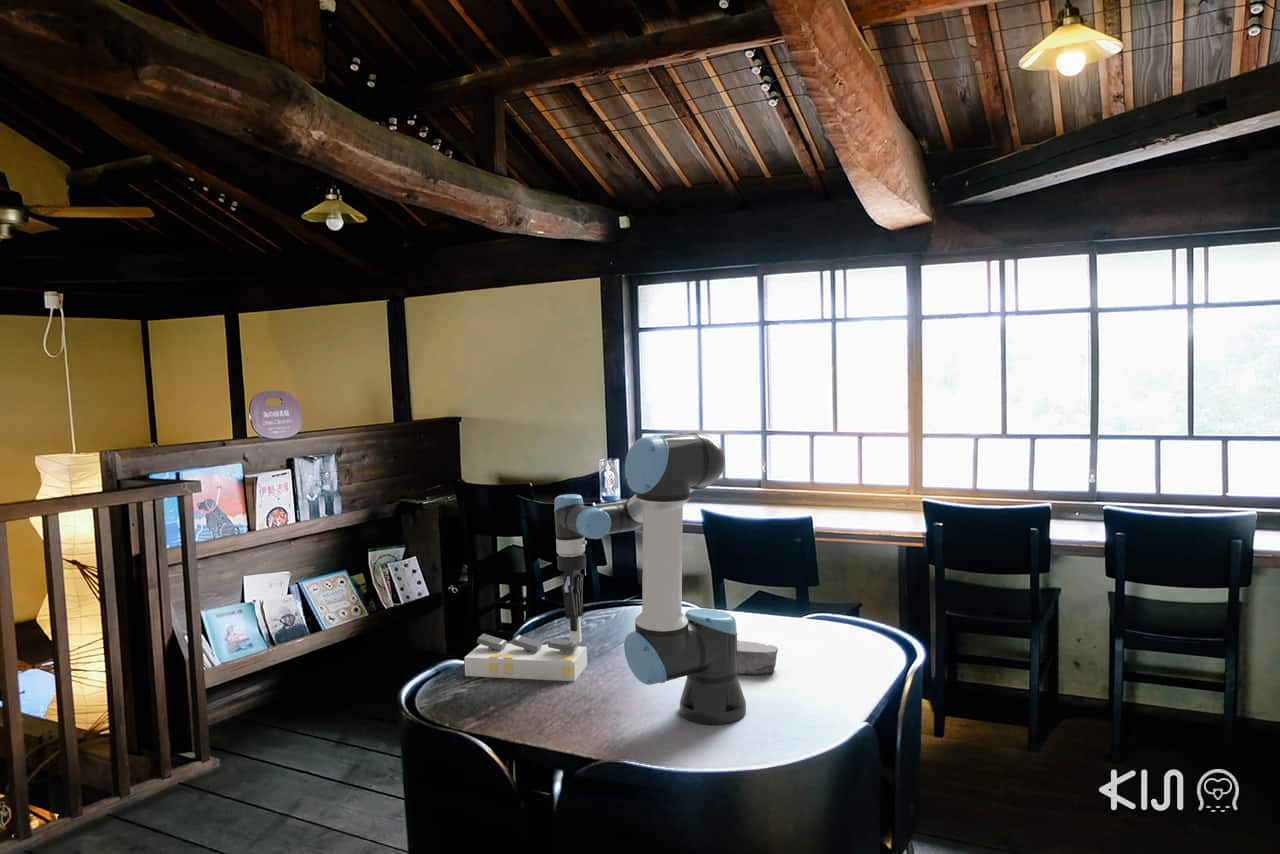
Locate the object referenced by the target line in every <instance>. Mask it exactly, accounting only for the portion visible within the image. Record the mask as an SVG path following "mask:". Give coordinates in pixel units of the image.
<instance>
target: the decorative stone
mask: <svg viewBox="0 0 1280 854" xmlns="http://www.w3.org/2000/svg"><path fill="white" fill-rule="evenodd" d="M778 649H779V648H778V647H777V646H775V645H772V644H768V645H765V644H764V643H759V642H757V641H756V642H752V641H745V640H739V639H737V675H738V676H753V677H755V676H766V675H765V674H768V675H772V674H773V673H774V672H775V668H776V663H777V653H778V652H779V651H778ZM771 673H772V674H771Z"/></svg>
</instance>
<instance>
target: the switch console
mask: <svg viewBox="0 0 1280 854" xmlns="http://www.w3.org/2000/svg"><path fill="white" fill-rule="evenodd" d="M587 649H588V648H587V646H579V645H578V647H577V649H576V650H575V651H574V652H569V651H564V650H559V649H554V648H549V647H548V644H542V646H541V648H540V649H539V650H538V651H537V652H535V651H531V650H528V649H525V648H522V647H519V646H515V645H512V643H507V644H506V646H505V647H504V648H503V649H502V650H501V651H500V650H497V649H494V648H491V647H488V646H484V645H481V644H478V645H477V646H476V647H475V648H473V650H471V651H470V652H469V653H468V654H467V655H465V656H464V658H463V659H464V676H465V677H479V678H480V677H481V678H499V679H500V678H502V679H519V680H520V679H522V680H542V681H558V682H559V681H562V682H563V681H565V682H566V681H567V682H576V681H577V679H578V678H579V677H580V675H581V674H582V672H584V670H585V669H586V667H587V666H588V651H587Z"/></svg>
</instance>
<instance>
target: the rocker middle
mask: <svg viewBox="0 0 1280 854" xmlns="http://www.w3.org/2000/svg"><path fill="white" fill-rule="evenodd" d="M511 644H512V645H515V646H519V647H522V648H525V649H528V650H531V651H535V652H537V651H538V650H539V649H540V648H541V646H542V645H543V642H542V641H540V640H537V639H533V638H530V637H526V636H523V635H522V634H521V635H520V634H517V635H516V636H515V637H514V638H513V640H512V643H511Z"/></svg>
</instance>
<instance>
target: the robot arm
mask: <svg viewBox="0 0 1280 854" xmlns="http://www.w3.org/2000/svg"><path fill="white" fill-rule="evenodd" d="M624 462H625V463H624V476H625V479H626V480H627V482H626V483H627V485H628V487H629V489H630V490H632V492H634V493H635V494H634V495H633V496H632V497H630V498H629V499H628V500H626V501H622V502H615V503H608V504H607V503H606V504H599V505H593V506H592V505H591V506H588V505H585V503H584V499H583V496H582V495H580V494H577V493H575V494H574V493H573V494H572V493H571V494H569V493H567V494H559V495H558V496H556V497H555V498H554V509H553V512H554V522H555V523H554V524H555V536H556V537H555V543H556V544H555V545H556V549H555V550H556V554H558V555H557V556H556V560H557V562H556V563H557V569H558V570H559V571H563V572H564V576H563V580H562V581H563V584H562V585H561V587H560V588H561V592H562V596H563V605H564V611H565V619H566V620H568V626H569V641H570V643H578V644H581V643H582V640H583V639H582V638H583V637H582V622H581V619H582V618H581V617H584V612H583V610H584V608H583V604H584V603H583V601H584V598H583V597H584V595H583V594H584V591H583V590H584V589H583V588H584V587H583V585H584V577H585V576H584V574H582V573H581V571H582V570H584V569H586V567H587V556H586V554H585V551H586V545H587V544H588V541H587V540H585V538H587V539H593V540H598V539H602V538H604V537H606V535H611V534H617V533H624V532H630V531H641V530H642V582H641V583H642V597H641V598H642V603H641V604H642V606H641V608H642V609H641V611H642V612H641V613H639V615H637V616H636V618H635V619H634V621H635V622H634V624H635V627H634V628H635V629H634V631H632V632H631V631H630V633H628V634H627V635H626V637H625V639H624V643H623V645H624V646H623V648H624V655H625V660H626V663H627V665H628V667H629V668H630V671H631V672H632V674H633V675H634V677H635V678H636V680H638V681H639V682H640V683H642V684H644V685H647V686H649V685H650V686H651V685H656V684H664V683H666V682H669V681H672V680H673V681H674V680H677V679H680V678H682V677H683V678H684V677H686V679H685V682H684V687H683V690H682V693H681V697H680V700H679V701H680V702H679V713H680V715H681V716H682V717H683V718H684V719H686V720H688V721H689V722H693V723H697V724H702V725H714V726H715V725H725V724H731V723H734V722H737V721H739V720H741V719H742V718H744V717H745V716H746V714H747V713H746V712H747V703H746V702H747V701H746V699H745V696H744V693H743V689H742V687H741V683H740V682H739V681H740V680H739V677H738V676H739V675H737V640H738V631H737V621H736V618H735V617H734V616H733V615H731V614H730V613H727V612H725V611H722V610H717V609H710V608H693V609H688V610H687V611H686V612H685V613H684V614H683V612H682V607H683V606H682V604H683V603H682V599H683V598H682V597H683V596H682V595H683V592H682V590H683V589H682V588H683V587H682V586H683V528H684V526H683V522H684V521H683V519H684V518H683V516H684V515H683V514H684V513H683V512H684V511H683V509H684V505H685V504H686V503H687V502H688V501H689V500H690V499H691V493H692V492H694V491H702V490H704V489H706V488H708V487H709V486H711V485H713V484H714V483H715V482H716V481H717V480H718V479H719V478H720V477H721V475H722V474H723V472H724V470H725V469H724V468H725V462H726V460H725V453H724V451H723V449H722V447H721V444H719V442H717V440H715V439H714V438H713V437H711V436H709V435H708V434H704V433H701V432H699V433H698V432H689V433H676V434H660V435H659V434H658V435H657V434H655V435H654V434H653V435H652V436H645V437H641V438H639V439H637V440H636V441H635V442H634V443H632V446H630V448H629V450H628V452H627V453H626V457H625V461H624Z"/></svg>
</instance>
